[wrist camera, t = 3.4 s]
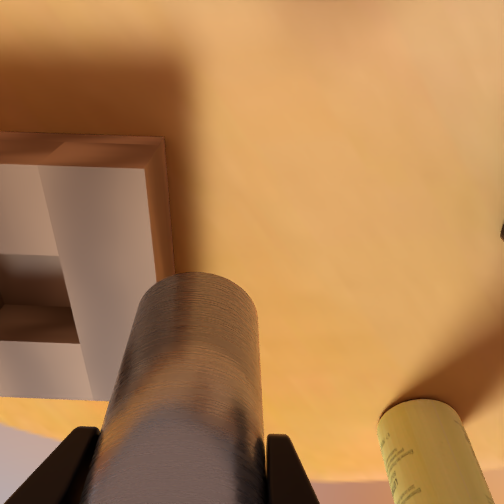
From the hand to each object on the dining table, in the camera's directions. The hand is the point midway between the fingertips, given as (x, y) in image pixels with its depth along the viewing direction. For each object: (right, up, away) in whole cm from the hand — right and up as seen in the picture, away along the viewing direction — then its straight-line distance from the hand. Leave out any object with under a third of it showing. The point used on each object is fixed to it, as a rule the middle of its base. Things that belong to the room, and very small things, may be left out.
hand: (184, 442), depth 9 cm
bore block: (-8, +4, +13) cm, 16 cm away
